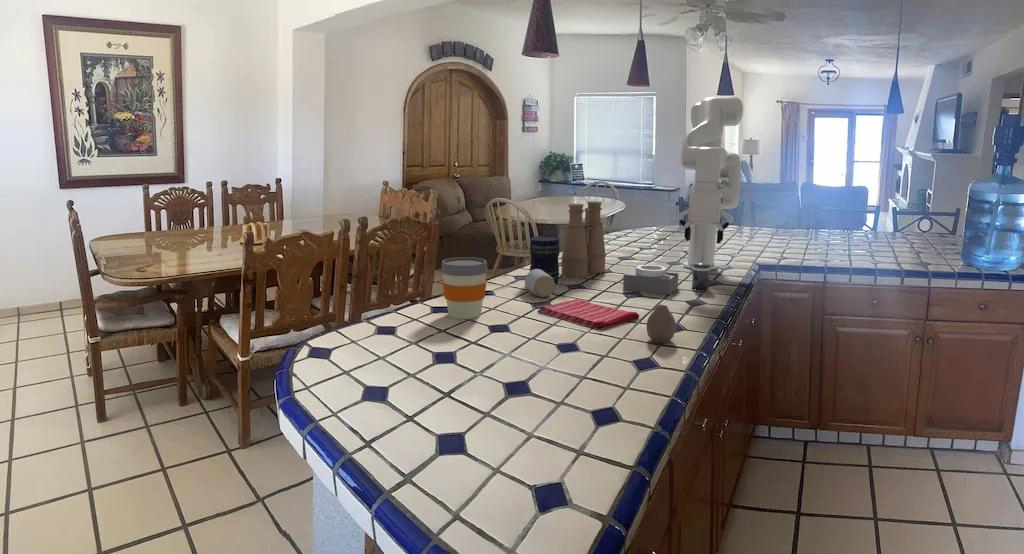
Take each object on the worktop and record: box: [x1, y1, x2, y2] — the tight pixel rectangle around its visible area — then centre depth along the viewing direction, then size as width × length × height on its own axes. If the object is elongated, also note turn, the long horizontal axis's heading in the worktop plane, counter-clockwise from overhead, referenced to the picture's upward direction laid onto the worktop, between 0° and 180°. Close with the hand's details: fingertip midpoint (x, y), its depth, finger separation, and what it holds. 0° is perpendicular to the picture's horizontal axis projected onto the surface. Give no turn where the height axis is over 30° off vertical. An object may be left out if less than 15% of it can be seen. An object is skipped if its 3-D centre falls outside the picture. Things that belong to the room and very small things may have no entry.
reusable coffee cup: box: [440, 256, 488, 320], centre depth 185 cm, size 13×12×15 cm
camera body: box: [622, 264, 679, 296], centre depth 217 cm, size 10×15×7 cm, turn 62°
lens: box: [691, 263, 711, 291], centre depth 217 cm, size 5×5×8 cm
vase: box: [646, 304, 677, 344], centre depth 164 cm, size 7×7×9 cm
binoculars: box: [560, 200, 608, 279], centre depth 238 cm, size 21×10×25 cm, turn 138°
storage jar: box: [529, 235, 561, 285], centre depth 225 cm, size 10×10×15 cm
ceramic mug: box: [524, 269, 563, 298], centre depth 208 cm, size 11×8×8 cm
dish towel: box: [537, 298, 640, 330], centre depth 186 cm, size 17×24×3 cm
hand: (703, 241), depth 214 cm, fingers open, 9 cm apart
